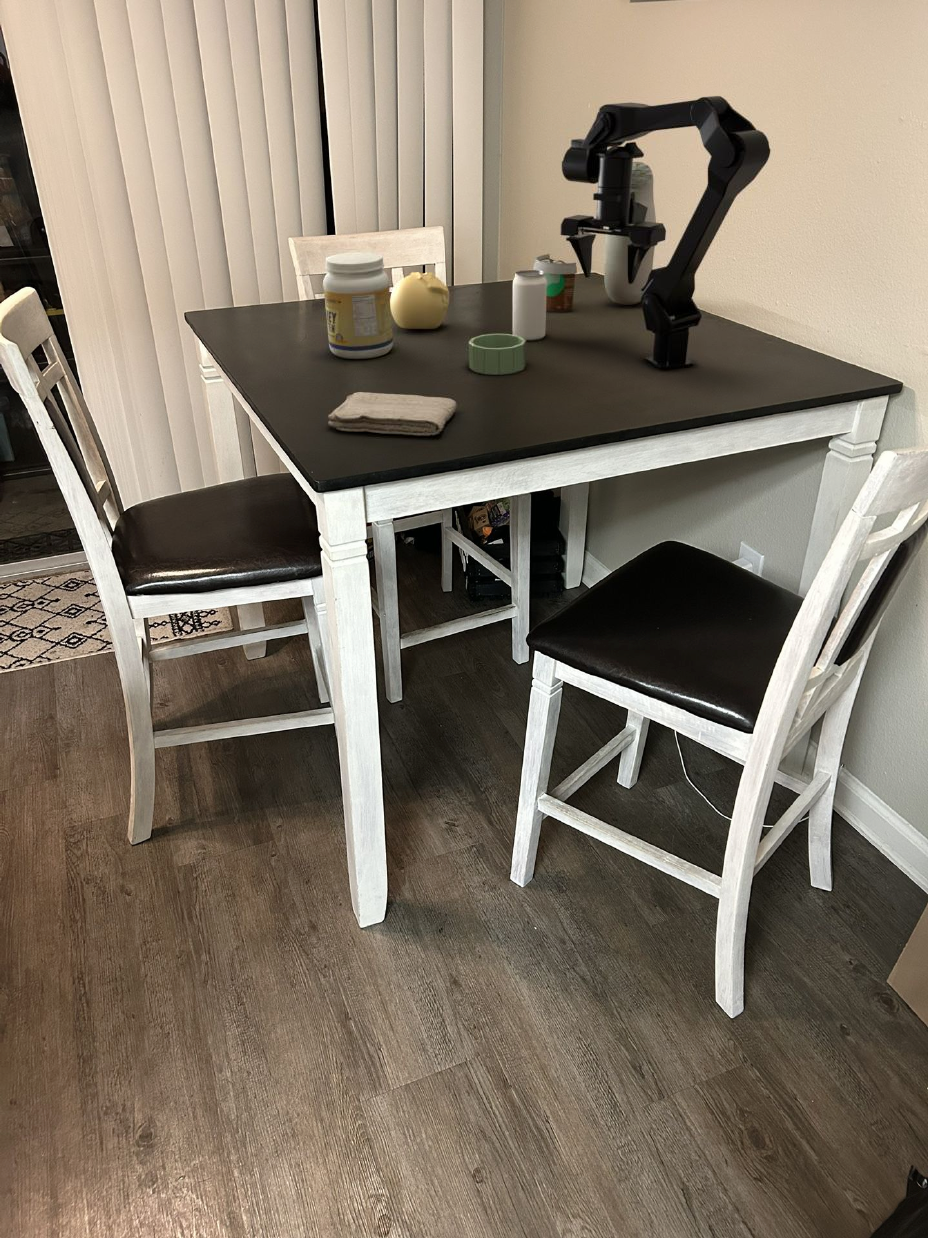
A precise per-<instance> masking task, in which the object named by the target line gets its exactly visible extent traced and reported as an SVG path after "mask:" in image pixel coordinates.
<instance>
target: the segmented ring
mask: <svg viewBox="0 0 928 1238" xmlns="http://www.w3.org/2000/svg"><path fill="white" fill-rule="evenodd" d="M526 358H527V341H526V340H525V339H523V338H522V337H520V336H516V335H513V334H510V333H487V334H480V335H477V336H475V337H472V338H470V340H469V341H468V362H469V363H468V368H469V369H470V370H471V371H473V372H474V373H478V374H481V375H482V374H483V375H492V376H493V375H494V376H495V375H496V376H500V375H501V376H502V375H510V374H511V375H512V374H516V373H518V372H520V371H524V369H525V368H526V366H527V365H526V363H527V362H526V361H527V359H526Z"/></svg>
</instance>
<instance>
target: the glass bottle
mask: <svg viewBox="0 0 928 1238" xmlns="http://www.w3.org/2000/svg"><path fill="white" fill-rule="evenodd" d="M631 191H634V192H635V202H638V203H640V204H642V205H644V206H646V207H648V210H647V214H646V218H645V222H655V223H657V217H656V208H655V207H656V206H655V201H654V198H655V197H654V174H653V171H652V168H651V167H650V166H649V165H648V164H647V163H645V162H642V161H633V167H632V182H631ZM633 225H635V224H630V226H633ZM606 229H609V227H606ZM615 230H616V229H615ZM616 231H621V230H616ZM630 244H633V243H632V242H631V240H630V239H629V237H625V236H616V235H607V234H605V254H604V275H603V276H604V279H603V280H604V288H605V289H604V290H605V292H606V294H607V296H608V298H609V300H611V301H612V302H614V303H616V304H618V305H621V306H632V305H636V304H638V303H641V296H642V294H643V292H644V291H641V289H642V288H643V287H644V286H645V284H646V282H647V279H648V276H649V274H650V272H651V270H653V269H654V256H655V248H656V246H653V247H651V248H650V249H649V250H648V252H647V253H646V255H645V257H644V259H643V261H642V263H641V265H640V268H639V270H638V273H637V275H636V277H635V280H634V282H633V283H632V284H629V283H628V247H627V246H628V245H630Z"/></svg>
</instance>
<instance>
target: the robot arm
mask: <svg viewBox="0 0 928 1238" xmlns="http://www.w3.org/2000/svg"><path fill="white" fill-rule="evenodd" d="M690 127H696V128H697V130H698V132H699V135H700V138H701V143H702V147H704V149H705V150H706V151H707V153H708V154H709V156H710V159H709V161H708V164H707V184H706V188H705V189H704V192H703V193H702V196H701V197H700V200H699V202H698V204H697V205H696V208H695V209H694V212H693V214H692V216H691V218H690V220H689V222H688V224H687V226H686V228H685V229H684V232H683V234H682V235H681V238H680V240H679V242H678V244H677V246H676V247H675V249H674V252H673V254H672V256H671V258H670V260H669V261H668V263H667V264H666V266H661V267H657V268H653V269H652V270H651V272H650V274H649V276H648V279H647V282H646V284H645V286H644V287H643V288H642V289H641V291H644V292H643V294H642V296H641V301H640V304H641V307H642V314H643V317H644V323H645V330H646V331H648V332H652V334H654V338H653V349H652V350H653V353H652V356H645V358H644V360H645V361H646V362H648V364H651V365H653V366H655V367H656V368H658V369H659V370H668V369H678V368H684V367H685V368H686V367H691V366H694V362H693V361H692V360H690V359H688V358H687V356H688V347H689V338H690V337H689V336H690V328H693V327H697V326H699V324H700V321H701V319H702V317H703V315H702V313H701V311H700V309H699V308H698V306H697V304H696V303H695V301H694V299H693V296H694V293H695V291H696V273H697V272H698V269H699V267H700V266H701V264H702V262H703V260H704V258H705V257H706V254H707V252H708V250H709V249H710V247H711V245H712V244H713V241H714V239H715V237H716V235H717V234H718V232H719V230H720V228H721V226H722V224H723V222H724V220H725V219H726V216H727V215H728V213H729V211H730V209H731V207H732V205H733V203H734V202H735V199H736V198H737V196H738V195H739V194H740V193H742V191H744V189H746V188H747V187H748V186H749V185H750V184H751V183H752V182H753V181H754V180H755V179H756V178H757V176H758V175H759V174H760V172H761V171H762V170H763V168H764V167H765V166H766V164H767V163H768V160H769V158H770V155H771V148H770V142H769V139H768V137H767V135H766V134H765V133H764V132H763V131H761V130H759V129H757V128H756V127H755V126H754V125H753V123H752V122H751V121H750V120H749V119H748V118H746V117H745V116H743V115H742V114H741V113H739V112H738V111H737V110H735V109H734V108H733V106H732V105H731V104H730V103H729V102H728V101H727V99H725V98H724V97H722V96H721V95H712V96H702V97H700V98H697V99H694V100H693V99H692V100H685V101H679V102H678V101H677V102H672V103H665V104H657V105H649V104H645V103H639V102H619V103H608V104H607V103H606V104H603V105H601V106H600V107H599V108H598V112H597V113H596V117H595V119H594V121H593V123H592V125H591V127H590V129H589V130H588V133H587V134H586V136H585V137H584V139H583V138H576V139H571V140H570V147H568V149H567V150H566V151H565V154H564V156H563V158H562V159H563V160H562V161H561V172H562V175H563V177H564V178H565V180H566V181H568V182H575V183H583V184H590V185H591V184H593V185H595V184H597V192H594V193H593V194H592V195H593V196H592V201H596V214H595V215H596V217H594V216H593V215H585V214H584V215H583V214H576V215H572V216H568V217H564V218H563V219H562V221H561V223H560V227H559V229H560V231H559V235H560V236H563V237H564V236H565V241H566V242H569V243H570V246H571V247H572V249H573V251H574V253H575V255H576V258H577V260H578V262H579V265H580V268H581V270H582V272H583V274H584V277H585V278H590V277H591V275H592V274H591V273H592V264H593V263H592V260H593V244H594V242H595V239H596V236H597V235H606V234H607V235H616V236H625V237H629V239H630V240H631V242H632V243H633V244H630V245H628V246H627V247H628V283H629V284H632V283H633V282H634V280H635V277H636V275H637V273H638V270H639V268H640V265H641V263H642V261H643V259H644V257H645V255H646V253H647V252H648V250H649V249H650V248H651V247H653V246H655V247H656V246H658V244H659V243H661V242H664V241H666V238H667V237H666V236H667V235H666V234H667V230H666V227H665V225H664V223H663V222H656V223H655V222H645V218H646V214H647V210H648V207H646V206H644V205H642V204H640V203H638V202H635V192H634V191H631V182H632V167H633V162H634V159H641V158H644V156H645V153H644V151H642V149H641V148H640V147H639V146H638V145H637V142H636V141H634V140H636V139H639V138H642V137H645V136H647V135H648V134H650V133H653V132H656V131H662V130H672V129H680V128H681V129H682V128H690ZM624 143H625V144H624ZM623 144H624V145H623ZM622 145H623V146H622ZM630 224H635V225H633V226H630ZM607 227H609V229H607ZM615 229H616V230H621V231H616V230H615ZM671 317H673V318H671Z"/></svg>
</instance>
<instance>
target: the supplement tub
mask: <svg viewBox="0 0 928 1238" xmlns="http://www.w3.org/2000/svg"><path fill="white" fill-rule="evenodd" d="M384 267H385V263H384V257H383V255H381V254H378V253H374V252H365V251H364V252H361V251H360V252H343V253H337V254H333V255H330V256H327V257H326V258H325V270H326V271H327V273H326V274H325V276H324V277H323V280H322V287H323V295H324V305H325V314H326V315H325V316H326V327H327V335H328V336H327V337H328V346H329V350H330V352H331V353H332V354H334V356H336V357H340V358H342V359H348V360H367V359H373V358H374V359H375V358H378V357H382V356H385V355H386V354H388V353H389V352H391V350H392V348H393V345H394V337H393V323H392V312H391V306H390V299H391V290H390V289H391V287H390V278H389V276H388V274H387V272H385V270H383V268H384Z"/></svg>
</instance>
